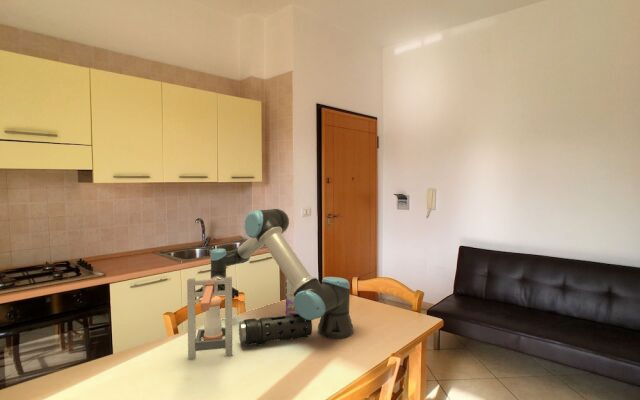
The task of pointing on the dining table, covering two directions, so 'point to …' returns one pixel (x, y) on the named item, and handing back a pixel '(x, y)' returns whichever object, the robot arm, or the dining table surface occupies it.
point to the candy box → (290, 299)
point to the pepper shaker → (213, 320)
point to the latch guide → (192, 315)
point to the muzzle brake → (274, 329)
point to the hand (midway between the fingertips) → (214, 300)
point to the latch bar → (207, 297)
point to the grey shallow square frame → (209, 341)
